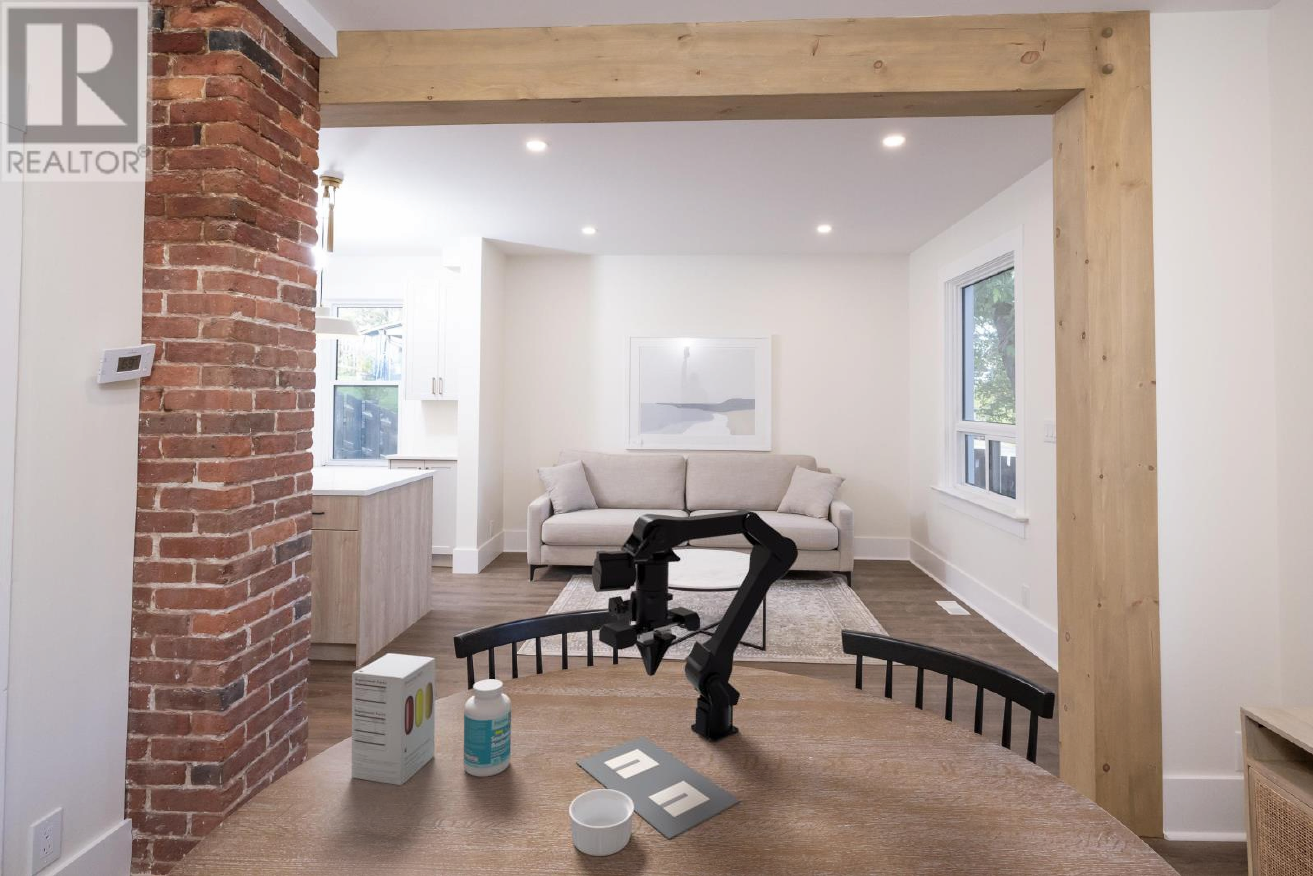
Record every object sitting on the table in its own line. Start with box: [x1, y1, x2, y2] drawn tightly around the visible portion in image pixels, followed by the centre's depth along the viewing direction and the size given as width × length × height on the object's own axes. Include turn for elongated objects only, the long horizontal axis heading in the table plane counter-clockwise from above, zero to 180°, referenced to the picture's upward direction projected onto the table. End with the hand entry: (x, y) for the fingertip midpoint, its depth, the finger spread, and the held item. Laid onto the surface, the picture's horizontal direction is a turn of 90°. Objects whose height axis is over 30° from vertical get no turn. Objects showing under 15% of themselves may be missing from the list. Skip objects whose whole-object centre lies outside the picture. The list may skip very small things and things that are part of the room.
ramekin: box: [568, 788, 635, 857], centre depth 86 cm, size 9×9×4 cm
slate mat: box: [575, 736, 742, 840], centre depth 99 cm, size 14×24×1 cm, turn 39°
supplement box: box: [351, 652, 436, 786], centre depth 102 cm, size 10×9×17 cm
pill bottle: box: [463, 678, 512, 778], centre depth 103 cm, size 8×7×14 cm
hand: (650, 675), depth 111 cm, fingers closed
